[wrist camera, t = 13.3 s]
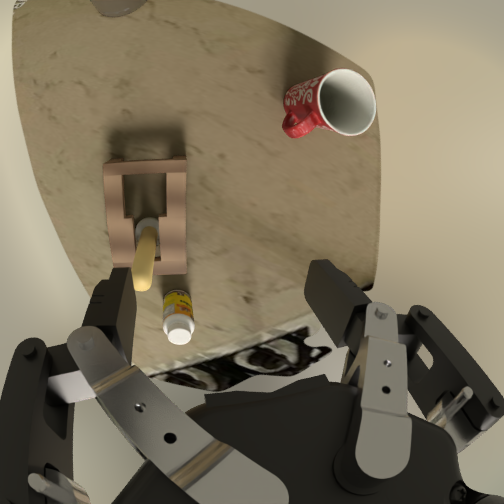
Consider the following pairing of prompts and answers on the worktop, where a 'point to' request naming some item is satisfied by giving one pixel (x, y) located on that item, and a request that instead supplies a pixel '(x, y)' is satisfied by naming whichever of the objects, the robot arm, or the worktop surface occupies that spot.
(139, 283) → the peg
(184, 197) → the keyhole board
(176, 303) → the supplement bottle
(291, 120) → the mug
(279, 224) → the worktop surface
